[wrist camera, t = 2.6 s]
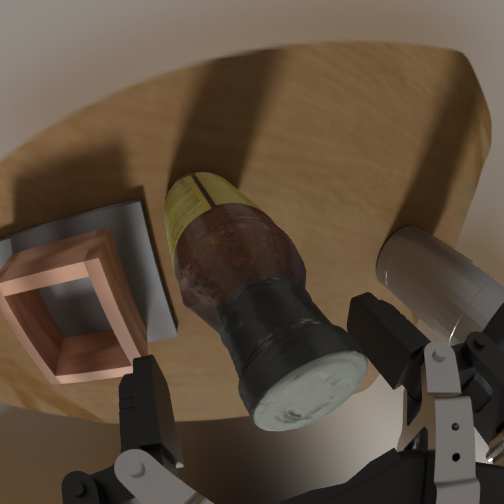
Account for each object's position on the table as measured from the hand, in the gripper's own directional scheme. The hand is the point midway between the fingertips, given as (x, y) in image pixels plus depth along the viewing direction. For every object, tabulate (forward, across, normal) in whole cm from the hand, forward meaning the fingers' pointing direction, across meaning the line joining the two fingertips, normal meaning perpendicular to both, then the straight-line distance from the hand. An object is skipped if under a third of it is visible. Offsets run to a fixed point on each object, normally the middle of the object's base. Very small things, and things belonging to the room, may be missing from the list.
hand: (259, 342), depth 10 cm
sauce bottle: (+17, 0, 0) cm, 17 cm away
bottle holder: (+17, +13, +6) cm, 22 cm away
